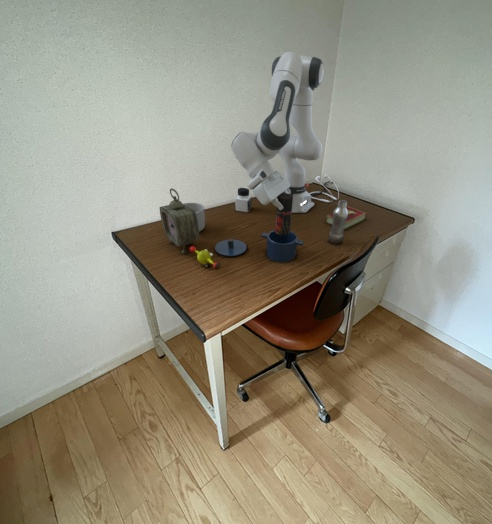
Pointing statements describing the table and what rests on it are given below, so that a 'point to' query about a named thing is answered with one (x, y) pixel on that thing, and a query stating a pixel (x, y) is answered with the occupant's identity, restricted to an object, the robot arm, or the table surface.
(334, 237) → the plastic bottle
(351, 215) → the hardcover book
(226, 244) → the pot lid
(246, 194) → the medicine bottle
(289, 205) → the deodorant
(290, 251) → the pot
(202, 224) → the planter
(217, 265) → the toy figure
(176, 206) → the tabletop clock
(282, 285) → the table surface
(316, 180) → the earphone
